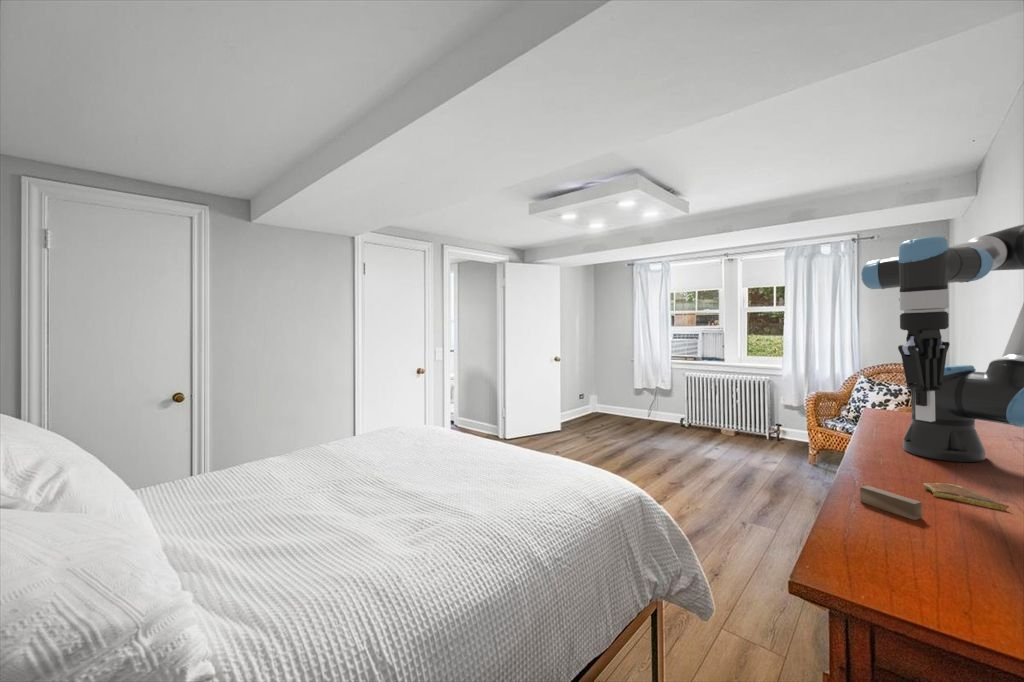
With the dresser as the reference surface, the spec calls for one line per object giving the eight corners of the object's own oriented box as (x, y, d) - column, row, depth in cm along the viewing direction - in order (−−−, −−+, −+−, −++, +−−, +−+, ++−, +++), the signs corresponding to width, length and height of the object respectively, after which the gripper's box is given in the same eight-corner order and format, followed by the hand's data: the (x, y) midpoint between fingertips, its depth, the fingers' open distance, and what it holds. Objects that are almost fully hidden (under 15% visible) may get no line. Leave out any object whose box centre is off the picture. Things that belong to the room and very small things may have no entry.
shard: (1009, 514, 79) (1009, 504, 79) (961, 512, 80) (961, 503, 80) (959, 491, 90) (958, 482, 90) (917, 490, 91) (917, 482, 91)
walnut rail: (867, 499, 86) (867, 485, 86) (921, 518, 78) (921, 502, 78) (860, 501, 86) (860, 487, 86) (914, 520, 77) (914, 504, 77)
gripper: (921, 310, 97) (923, 413, 98) (882, 313, 93) (885, 420, 94) (965, 309, 90) (966, 419, 91) (925, 311, 86) (927, 427, 87)
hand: (925, 420), depth 92 cm, fingers closed
